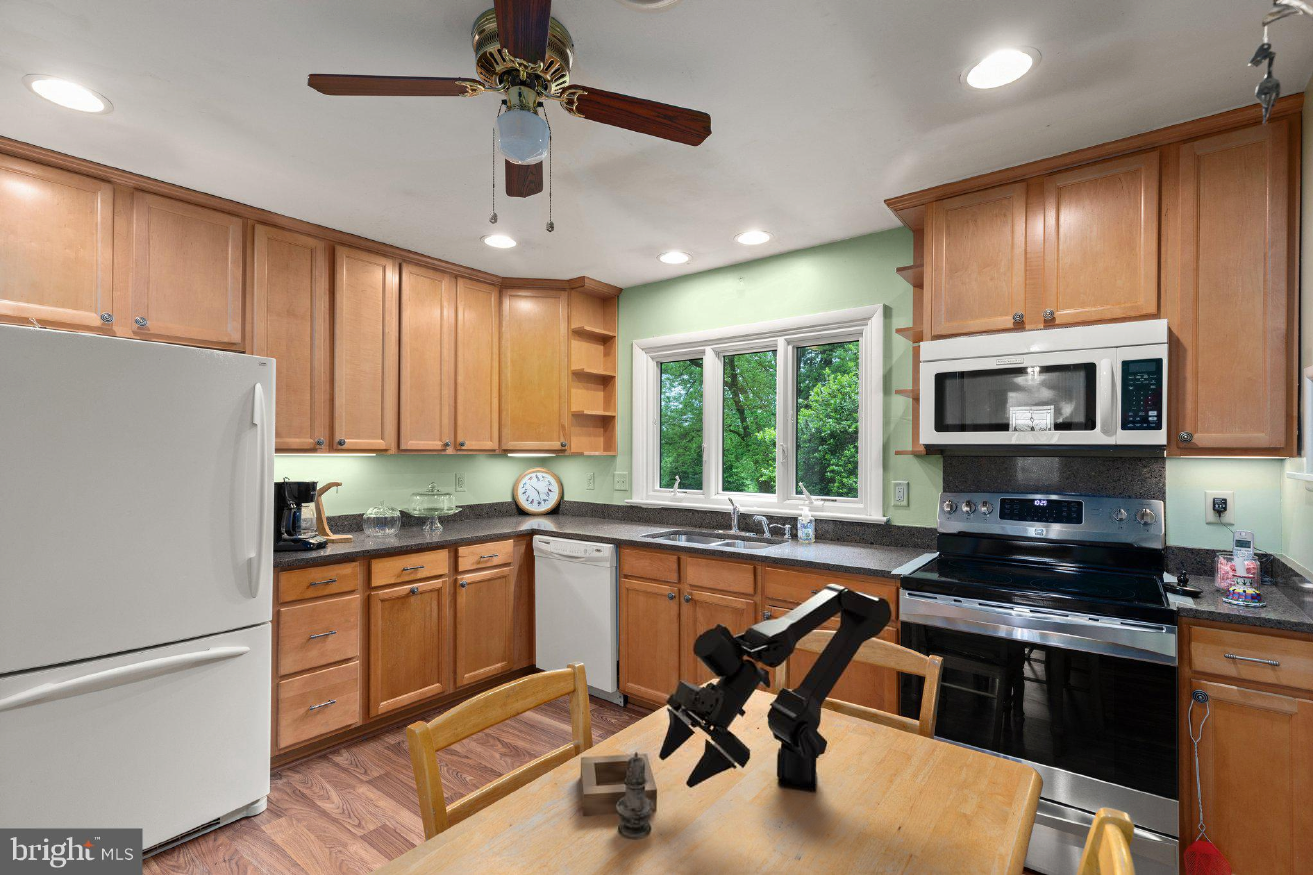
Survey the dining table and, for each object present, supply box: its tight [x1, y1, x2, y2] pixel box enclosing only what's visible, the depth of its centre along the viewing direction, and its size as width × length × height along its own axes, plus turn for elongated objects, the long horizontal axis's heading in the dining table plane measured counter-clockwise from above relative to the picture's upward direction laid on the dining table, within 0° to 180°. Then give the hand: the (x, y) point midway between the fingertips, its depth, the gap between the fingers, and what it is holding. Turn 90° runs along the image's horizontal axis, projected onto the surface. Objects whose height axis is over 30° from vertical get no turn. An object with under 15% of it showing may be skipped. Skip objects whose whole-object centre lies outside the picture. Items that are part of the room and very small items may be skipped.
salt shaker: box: [616, 751, 654, 840], centre depth 99 cm, size 6×6×12 cm
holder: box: [580, 753, 658, 817], centre depth 108 cm, size 12×12×4 cm
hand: (673, 771), depth 102 cm, fingers open, 9 cm apart
